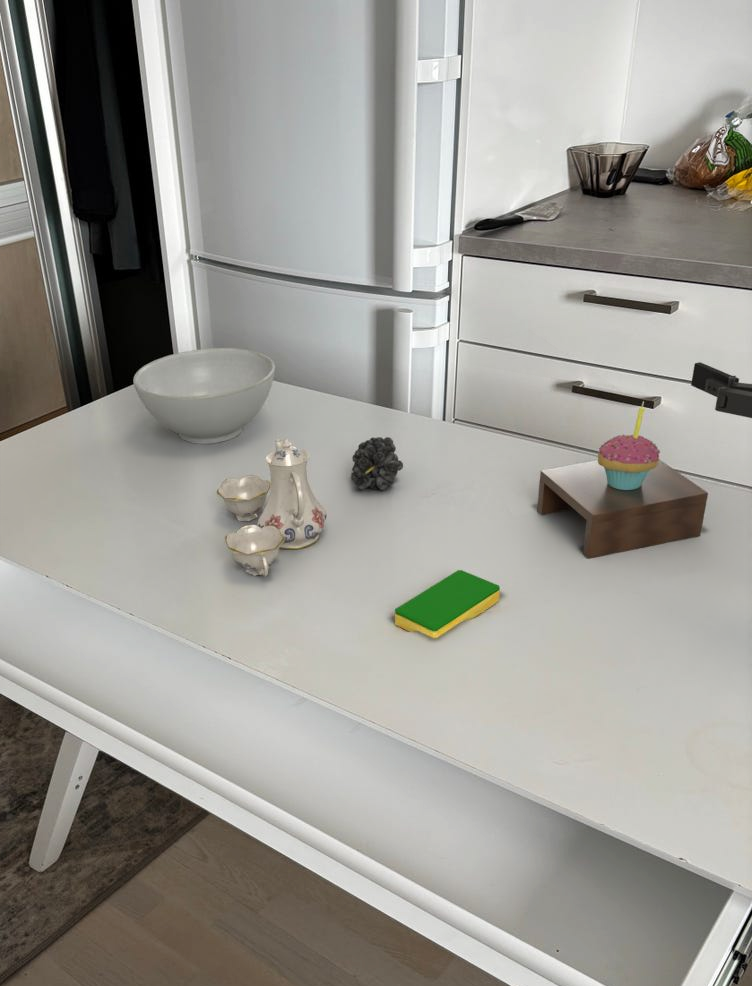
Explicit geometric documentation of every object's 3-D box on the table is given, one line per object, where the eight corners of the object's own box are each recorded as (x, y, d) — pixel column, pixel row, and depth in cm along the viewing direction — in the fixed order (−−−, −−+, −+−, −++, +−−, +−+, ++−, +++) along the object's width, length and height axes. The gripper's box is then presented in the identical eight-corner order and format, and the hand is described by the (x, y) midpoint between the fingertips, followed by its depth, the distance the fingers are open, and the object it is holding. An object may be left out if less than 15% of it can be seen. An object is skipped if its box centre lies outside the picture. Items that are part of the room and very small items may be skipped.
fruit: (363, 411, 169) (359, 444, 157) (409, 424, 170) (408, 459, 157) (349, 456, 174) (343, 492, 162) (394, 469, 175) (391, 505, 162)
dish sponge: (393, 624, 131) (393, 609, 130) (459, 583, 138) (459, 568, 137) (434, 644, 126) (435, 629, 125) (500, 600, 134) (501, 585, 132)
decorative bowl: (115, 437, 193) (105, 377, 186) (219, 396, 207) (212, 339, 200) (201, 473, 176) (193, 408, 169) (307, 425, 190) (304, 364, 183)
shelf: (640, 491, 157) (646, 450, 153) (700, 535, 144) (708, 492, 140) (536, 511, 154) (540, 470, 150) (587, 558, 141) (593, 515, 137)
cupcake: (613, 466, 149) (623, 390, 142) (666, 480, 144) (679, 402, 137) (583, 486, 144) (592, 409, 138) (637, 502, 139) (648, 422, 132)
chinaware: (212, 516, 164) (190, 425, 155) (307, 491, 166) (291, 399, 156) (242, 601, 142) (218, 500, 132) (352, 571, 143) (336, 469, 133)
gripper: (783, 481, 100) (650, 413, 117) (970, 431, 106) (818, 373, 123) (800, 411, 96) (659, 351, 113) (993, 364, 102) (833, 313, 119)
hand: (742, 362), depth 118 cm, fingers open, 13 cm apart
